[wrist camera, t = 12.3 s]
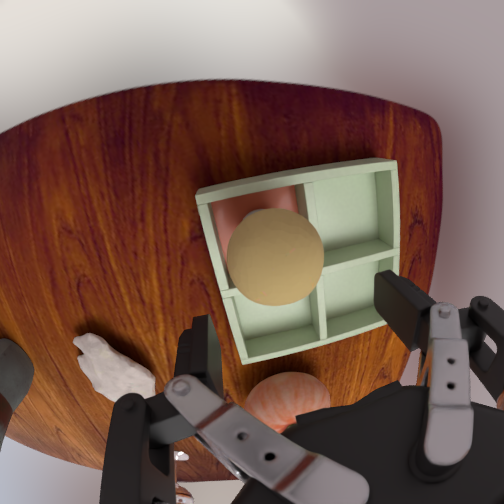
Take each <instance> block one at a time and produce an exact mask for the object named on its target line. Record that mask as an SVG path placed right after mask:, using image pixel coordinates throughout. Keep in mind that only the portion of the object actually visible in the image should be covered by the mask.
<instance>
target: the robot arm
mask: <svg viewBox="0 0 504 504" xmlns="http://www.w3.org/2000/svg"><path fill="white" fill-rule="evenodd" d="M373 301H374V306H375V309H376V311H377V312H378V313H379V315H380V316H381V317H382V318H383V319H384V320H385V322H386V323H387V324H388V325H389V326H390V327H391V329H392V330H393V331H394V332H395V333H396V335H397V336H398V337H399V338H400V339H401V341H402V342H403V343H404V344H405V346H406V347H407V348H408V349H409V350H410V352H411V351H414V350H416V349H418V348H420V349H421V352H420V357H419V367H418V376H417V383H416V385H415V386H414V385H413V386H412V385H409V386H401V384H400V382H399V381H398V380H397V381H395V382H392V383H390V384H388V385H385V386H383V387H380V388H378V389H376V390H374V391H373V392H371V393H370V394H368V395H367V396H365V397H364V398H362V399H361V400H359V401H358V402H356V403H354V404H352V405H347V406H338V407H329V408H321V409H318V410H315V411H311V412H308V413H304V414H300V415H296V416H295V418H296V424H294V425H292V426H290V427H289V428H287V429H285V430H284V431H283V432H282V433H278V432H276V431H275V430H273V429H272V428H270V427H269V426H267V425H266V424H264V423H263V422H261V421H260V420H259V419H257V418H256V417H254V416H253V415H251V414H250V413H249V412H247V411H246V410H244V409H243V408H242V407H240V406H239V405H238V404H236V403H234V402H230V403H229V404H228V403H226V402H225V401H224V395H223V379H222V361H221V348H220V343H219V340H218V337H217V334H216V331H215V328H214V325H213V322H212V319H211V317H210V315H209V314H207V315H202V316H197V317H193V323H192V329H187V330H184V331H183V333H182V334H181V336H180V337H179V342H178V349H177V356H176V364H175V371H174V378H172V379H171V380H169V381H168V383H167V384H166V386H165V388H164V391H163V392H162V393H160V394H157V395H154V396H152V397H149V398H146V399H144V397H143V396H142V395H140V394H138V393H127V394H125V395H123V396H121V397H120V398H119V399H118V400H117V401H116V402H115V404H114V407H113V412H112V417H111V422H110V427H109V433H108V439H107V445H106V451H105V458H104V465H103V473H102V481H101V491H100V502H99V503H100V504H176V488H175V464H174V442H177V441H179V440H182V439H185V438H188V437H190V436H194V437H195V438H196V439H197V440H198V441H199V442H200V443H201V444H202V445H203V446H204V447H205V448H206V449H207V450H208V451H210V452H211V453H212V454H213V455H214V456H215V457H216V458H217V459H218V460H219V461H220V462H221V463H222V464H223V465H224V466H225V467H226V468H227V469H228V470H229V471H230V472H231V473H233V474H234V475H235V476H236V477H237V478H239V479H240V480H241V481H242V482H243V483H245V485H244V486H243V488H242V489H241V490H240V492H239V493H238V494H237V496H236V497H235V499H234V500H233V501H232V503H231V504H504V310H503V309H502V308H500V307H499V306H498V305H497V304H496V303H495V302H493V301H492V300H491V299H489V298H487V297H484V296H476V297H474V298H473V299H472V300H471V303H470V307H469V308H463V309H457V308H456V307H455V306H454V305H452V304H450V303H447V302H439V303H436V302H435V301H434V300H433V299H432V298H431V297H429V296H428V295H427V294H426V293H425V292H424V291H422V290H420V288H419V287H418V286H416V285H415V284H414V283H413V282H412V281H410V280H409V279H407V278H404V277H402V276H398V275H396V274H395V273H394V272H393V271H392V270H390V269H388V270H385V271H382V272H378V273H376V274H375V276H374V299H373ZM486 335H488V336H489V337H490V338H491V339H492V340H493V341H494V342H495V343H496V346H497V353H496V354H495V353H494V352H493V351H492V350H491V349H490V347H489V346H488V345H487V344H486V343H485V342H484V340H485V337H486ZM470 368H471V369H472V371H473V372H474V373H475V375H476V376H477V377H478V378H479V380H480V381H481V382H482V384H483V385H484V386H485V388H486V389H487V390H488V392H489V393H490V394H491V396H492V397H493V398H494V400H495V401H496V403H497V408H493V407H489V406H486V405H482V404H479V403H475V402H471V401H470Z"/></svg>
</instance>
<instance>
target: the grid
mask: <svg viewBox="0 0 504 504" xmlns="http://www.w3.org/2000/svg"><path fill="white" fill-rule="evenodd" d="M195 198H196V202H197V205H198V211H199V214H200V218H201V222H202V226H203V230H204V234H205V238H206V242H207V245H208V249H209V253H210V257H211V260H212V264H213V268H214V271H215V275H216V278H217V282H218V286H219V289H220V292H221V296H222V300H223V303H224V306H225V310H226V313H227V317H228V320H229V323H230V327H231V330H232V333H233V336H234V340H235V343H236V346H237V349H238V353H239V356H240V359H241V362H242V365H244V364H249V363H254V362H258V361H263V360H267V359H272V358H276V357H280V356H284V355H288V354H292V353H296V352H300V351H303V350H307V349H311V348H314V347H318V346H321V345H325V344H328V343H331V342H335V341H338V340H341V339H344V338H348V337H351V336H354V335H357V334H360V333H363V332H366V331H368V330H371V329H374V328H377V327H380V326H382V325H385V324H387V323H386V322H385V320H384V319H383V318H382V317H381V316H380V315H379V313H378V312H377V311H376V309H375V306H374V301H373V299H374V276H375V274H376V273H378V272H382V271H385V270H388V269H390V270H392V271H393V272H394V273H395V274H396V275H398V276H399V256H400V255H399V254H400V204H399V184H398V170H397V161H396V160H390V159H383V158H368V159H360V160H352V161H344V162H337V163H330V164H323V165H316V166H310V167H304V168H298V169H292V170H286V171H280V172H275V173H270V174H264V175H259V176H254V177H249V178H244V179H240V180H235V181H230V182H226V183H221V184H217V185H213V186H208V187H204V188H200V189H198V191H197V193H196V195H195ZM270 208H282V209H286V210H291V211H293V212H295V213H298V214H300V215H301V216H303V217H304V218H306V219H307V220H308V221H309V222H310V223H311V224H312V225H313V226H314V227H315V229H316V230H317V232H318V234H319V236H320V238H321V241H322V244H323V249H324V264H323V269H322V274H321V276H320V279H319V281H318V283H317V285H316V287H315V288H314V289H313V291H312V292H311V293H310V294H309V295H308V296H306V297H305V298H303V299H301V300H299V301H297V302H294V303H292V304H287V305H281V306H267V305H262V304H258V303H255V302H253V301H251V300H249V299H247V298H246V297H245V296H244V295H243V294H242V293H241V292H240V291H239V290H238V289H237V287H236V286H235V285H234V283H233V281H232V279H231V277H230V274H229V271H228V267H227V247H228V243H229V240H230V238H231V235H232V233H233V232H234V230H235V229H236V227H237V226H238V225H239V224H240V223H241V222H242V220H243V218H244V217H245V216H246V215H247V214H248V213H250V212H251V211H254V210H257V209H270Z"/></svg>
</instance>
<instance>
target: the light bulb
mask: <svg viewBox="0 0 504 504" xmlns="http://www.w3.org/2000/svg"><path fill="white" fill-rule="evenodd" d="M323 264H324V249H323V244H322V241H321V238H320V236H319V234H318V232H317V230H316V229H315V227H314V226H313V225H312V224H311V223H310V222H309V221H308V220H307V219H306V218H304V217H303V216H301V215H300V214H298V213H295V212H293V211H291V210H286V209H282V208H270V209H257V210H254V211H251V212H250V213H248V214H247V215H246V216H245V217H244V218H243V220H242V222H241V223H240V224H239V225H238V226H237V227H236V229H235V230H234V232H233V233H232V235H231V238H230V240H229V243H228V247H227V267H228V271H229V274H230V277H231V279H232V281H233V283H234V285H235V286H236V287H237V289H238V290H239V291H240V292H241V293H242V294H243V295H244V296H245V297H246V298H247V299H249V300H251V301H253V302H255V303H258V304H262V305H267V306H281V305H287V304H292V303H294V302H297V301H299V300H301V299H303V298H305V297H306V296H308V295H309V294H310V293H311V292H312V291H313V289H314V288H315V287H316V285H317V283H318V281H319V279H320V276H321V274H322V269H323Z"/></svg>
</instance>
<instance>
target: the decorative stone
mask: <svg viewBox="0 0 504 504" xmlns="http://www.w3.org/2000/svg"><path fill="white" fill-rule="evenodd" d="M73 343H74V344H75V345H76V346H77V347H79V348H80V349H81V350H82V352H83V353H84V354H83V355H79V356H78V361H79V365H80V367H81V369H82V370H83V372H84V373H85V374H86V375H87V377H88V378H89V379H90V381H91V382H92V385H93V387H94V389H95V390H96V391H97V392H99V393H101V394H103V395H104V396H106V397H107V398H108V399H110V400H112V401H114V402H116V401H117V400H118V399H119V398H120V397H121V396H123V395H125V394H127V393H138V394H140V395H142V396H143V397H144V399H146V398H149V397H152V396H154V395H155V376H154V375H153V374H152V373H151V372H150V371H149V370H148V369H146V368H145V367H143V366H141V365H140V364H138V363H136V362H134V361H133V360H132V359H130V358H129V357H127V356H124V355H123V354H121V353H119V352H117V351H116V350H115V349H113V348H112V347H111V346H110V345H109V344H108V343H107V342H106V341H105V340H104V339H103V338H102V337H100V336H98V335H95V334H92V333H86V334H85V335H83V336H77V337H75V338H74V340H73Z"/></svg>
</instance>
